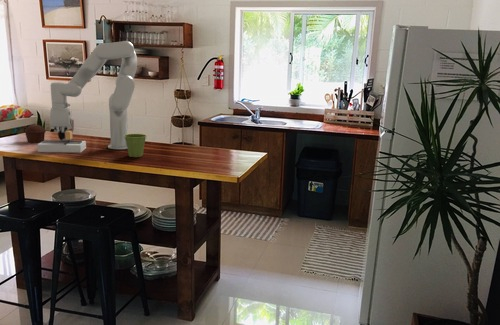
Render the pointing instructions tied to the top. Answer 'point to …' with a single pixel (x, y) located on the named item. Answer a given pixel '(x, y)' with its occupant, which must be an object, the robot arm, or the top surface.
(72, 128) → the mortar and pestle
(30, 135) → the muffin
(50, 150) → the control panel
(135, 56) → the robot arm
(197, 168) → the top surface
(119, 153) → the top surface
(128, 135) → the plant pot
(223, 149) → the top surface
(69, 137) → the slider tab
